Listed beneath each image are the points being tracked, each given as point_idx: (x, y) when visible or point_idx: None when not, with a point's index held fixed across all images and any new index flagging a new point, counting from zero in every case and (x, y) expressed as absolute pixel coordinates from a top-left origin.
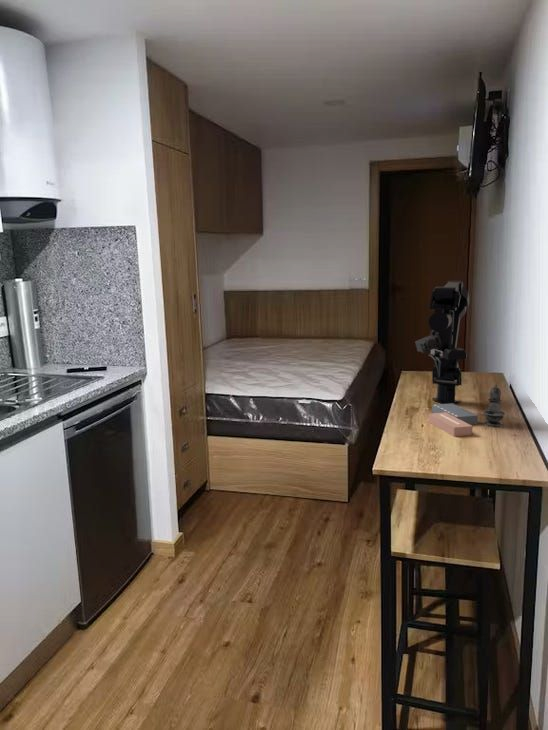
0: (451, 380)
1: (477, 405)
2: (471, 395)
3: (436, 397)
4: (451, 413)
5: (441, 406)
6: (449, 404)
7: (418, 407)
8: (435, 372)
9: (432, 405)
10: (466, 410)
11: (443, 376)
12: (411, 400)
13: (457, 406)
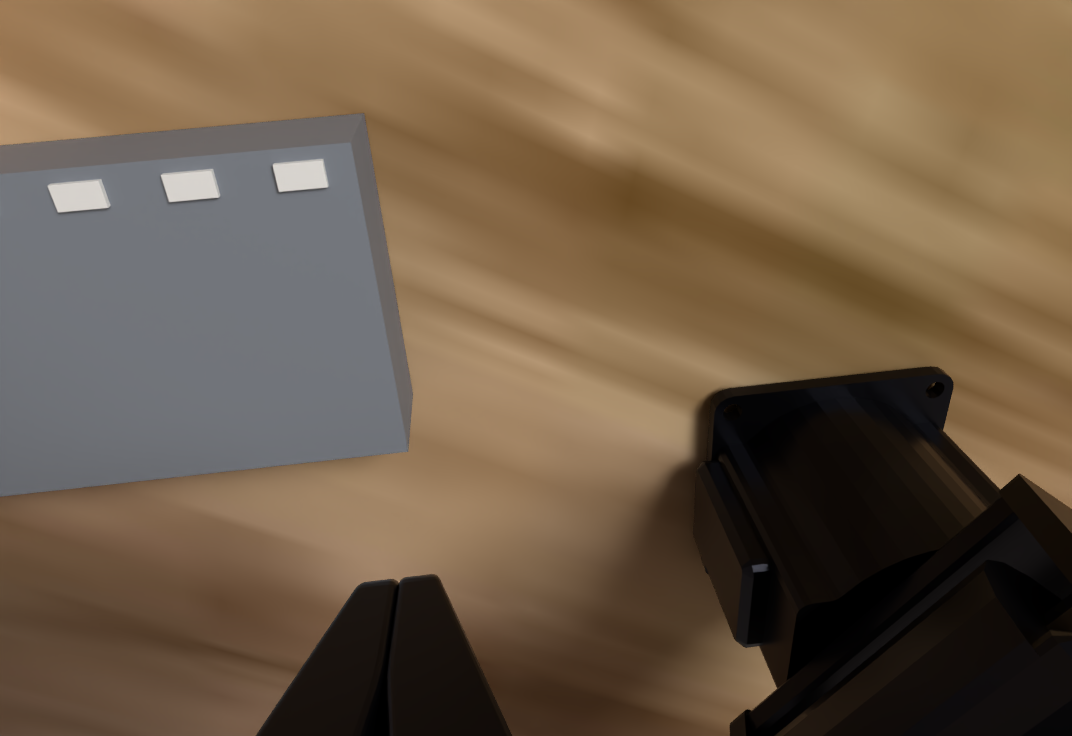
0: (780, 731)
1: (584, 674)
2: None
3: (937, 426)
4: None
5: (234, 243)
6: (351, 395)
7: (668, 22)
8: (1044, 658)
9: (347, 139)
10: (24, 482)
11: (872, 700)
12: (1047, 83)
13: (239, 452)
